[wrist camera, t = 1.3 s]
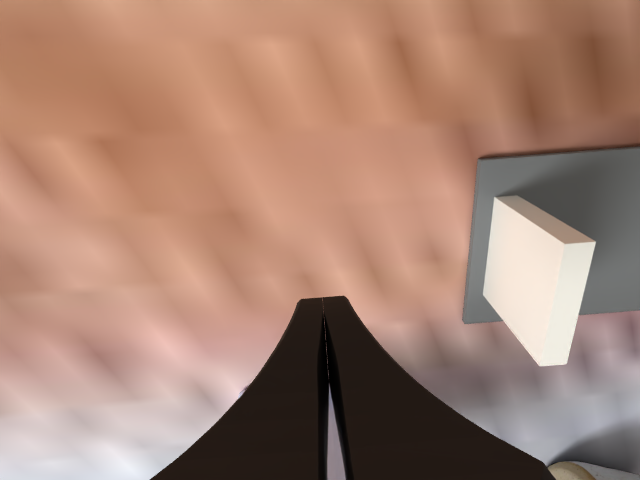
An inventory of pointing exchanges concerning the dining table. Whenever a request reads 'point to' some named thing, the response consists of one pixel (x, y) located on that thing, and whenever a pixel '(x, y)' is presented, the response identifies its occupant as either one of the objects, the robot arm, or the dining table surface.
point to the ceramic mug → (588, 472)
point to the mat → (567, 220)
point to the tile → (536, 277)
